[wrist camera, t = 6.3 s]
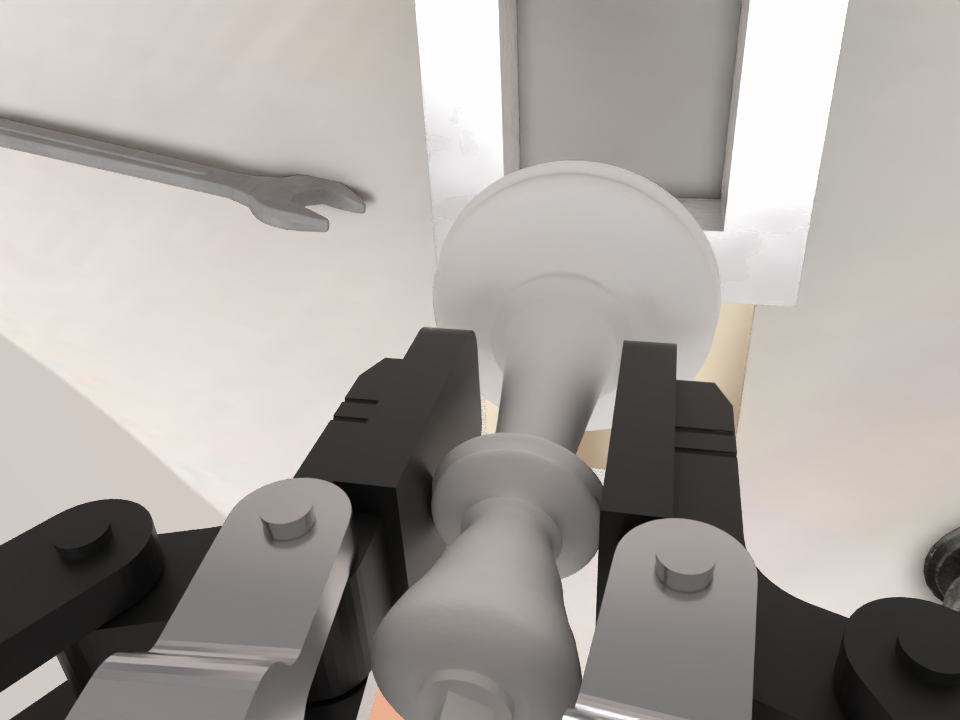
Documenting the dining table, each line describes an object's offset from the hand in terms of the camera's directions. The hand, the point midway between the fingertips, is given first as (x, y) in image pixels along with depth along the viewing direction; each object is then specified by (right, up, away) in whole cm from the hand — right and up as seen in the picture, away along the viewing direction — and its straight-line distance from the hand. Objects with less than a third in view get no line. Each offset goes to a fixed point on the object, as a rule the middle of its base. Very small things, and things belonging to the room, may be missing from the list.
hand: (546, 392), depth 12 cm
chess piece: (+1, +2, +3) cm, 3 cm away
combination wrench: (-15, +9, +21) cm, 27 cm away
